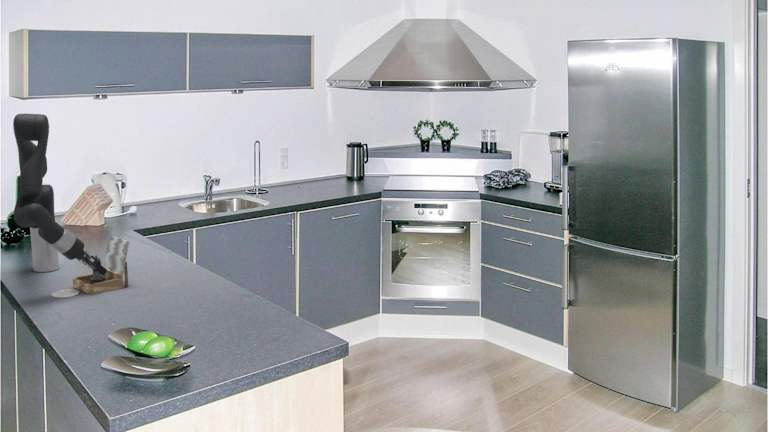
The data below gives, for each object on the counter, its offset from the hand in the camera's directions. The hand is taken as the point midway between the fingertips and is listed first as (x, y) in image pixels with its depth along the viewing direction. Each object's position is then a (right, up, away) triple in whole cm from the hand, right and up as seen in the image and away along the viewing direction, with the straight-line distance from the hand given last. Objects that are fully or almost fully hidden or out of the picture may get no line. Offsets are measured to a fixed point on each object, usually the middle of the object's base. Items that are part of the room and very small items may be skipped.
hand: (102, 271), depth 295 cm
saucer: (-10, -7, -9) cm, 15 cm away
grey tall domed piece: (-1, -6, 0) cm, 6 cm away
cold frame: (0, -5, +1) cm, 6 cm away
